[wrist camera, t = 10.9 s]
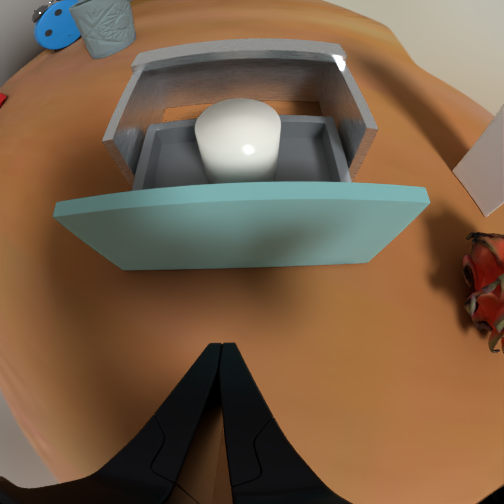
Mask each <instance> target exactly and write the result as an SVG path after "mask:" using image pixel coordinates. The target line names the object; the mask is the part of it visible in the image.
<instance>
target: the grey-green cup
mask: <svg viewBox="0 0 504 504" xmlns="http://www.w3.org/2000/svg"><path fill="white" fill-rule="evenodd" d="M69 11H70V13H71V15H72V18H73V20H74V21H75V23H76V26H77V28H78V29H79V32H80V34H81V35H82V38H83V40H84V41H85V43H86V47H87V49H88V51H89V53H90V55H91V57H92V58H93V59H100V58H104V57H107V56H110V55H112V54H115V53H117V52H119V51H121V50H123V49H124V48H126V47H128V46H129V45H130V44H132V43H133V42H134V41H135V39H136V33H135V28H134V23H133V16H132V9H131V5H130V0H81V1H79V2H77V3H76V4H74V5H73V6H71V7H70V8H69Z"/></svg>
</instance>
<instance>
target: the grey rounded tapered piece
mask: <svg viewBox="0 0 504 504" xmlns="http://www.w3.org/2000/svg"><path fill="white" fill-rule="evenodd" d="M280 131H281V121H280V118H279V115H278V114H277V112H276V111H275V110H274V109H273V108H271V107H270V106H269V105H267V104H265V103H263V102H260V101H257V100H253V99H247V98H235V99H228V100H224V101H221V102H218V103H216V104H213V105H212V106H210V107H208V108H207V109H206V110H204V111H203V112H202V113H201V115H200V116H199V117H198V119H197V121H196V124H195V134H196V138H197V142H198V146H199V150H200V154H201V158H202V162H203V165H204V169H205V173H206V177H207V180H208V181H209V183H210V184H222V183H245V182H272V181H273V180H274V178H275V175H276V171H277V162H278V152H279V141H280Z"/></svg>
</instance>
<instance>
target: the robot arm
mask: <svg viewBox="0 0 504 504" xmlns="http://www.w3.org/2000/svg"><path fill="white" fill-rule="evenodd" d="M222 427H224V436H225V445H226V453H227V461H228V469H229V477H230V484H231V487H232V488H231V491H232V499H233V504H352V503H351V502H349V501H347V500H345V499H344V498H342V497H340V496H339V495H337V494H336V493H334V492H333V491H332V490H331V489H330V488H329V487H327V486H326V485H325V484H324V483H323V482H322V481H321V480H320V478H319V477H318V476H317V475H316V474H315V473H314V472H313V471H312V469H311V468H310V467H309V466H308V465H307V464H306V462H305V461H304V460H303V459H302V458H301V457H300V455H299V454H298V453H297V452H296V450H295V449H294V448H293V446H292V445H291V444H290V442H289V441H288V440H287V438H286V437H285V435H284V433H283V432H282V430H281V429H280V427H279V425H278V423H277V422H276V420H275V418H273V415H272V413H271V411H270V409H269V407H268V405H267V404H266V402H265V400H264V398H263V396H262V394H261V392H260V390H259V389H258V387H257V385H256V383H255V381H254V379H253V377H252V375H251V373H250V371H249V369H248V367H247V365H246V363H245V361H244V359H243V357H242V355H241V353H240V351H239V349H238V347H237V345H236V344H235V343H223V344H221V343H210V344H208V346H207V347H206V348H205V350H204V351H203V352H202V353H201V355H200V356H199V357H198V359H197V360H196V361H195V363H194V364H193V365H192V366H191V368H190V369H189V370H188V372H187V373H186V374H185V375H184V377H183V378H182V379H181V381H180V382H179V383H178V384H177V386H176V387H175V388H174V389H173V391H172V392H171V393H170V395H169V396H168V397H167V398H166V400H165V401H164V402H163V403H162V405H161V406H160V407H159V408H158V410H157V411H156V412H155V414H154V415H153V416H152V417H151V418H150V420H149V421H148V422H147V423H146V424H145V426H144V427H143V428H142V429H141V430H140V431H139V433H138V434H137V435H136V436H135V437H134V438H133V439H132V440H131V441H130V442H129V443H128V444H127V445H126V446H125V447H124V448H123V449H121V450H120V451H119V452H118V453H117V454H116V455H115V456H114V457H113V458H112V459H111V460H109V461H108V462H107V463H106V464H105V465H104V466H103V467H102V468H100V469H99V470H98V471H96V472H95V473H93V474H91V475H90V476H87V477H85V478H82V479H78V480H74V481H70V482H65V483H61V484H56V485H50V486H45V487H39V488H29V489H28V488H21V487H18V486H16V485H15V484H13V483H12V482H10V481H9V480H7V479H6V478H4V477H2V476H0V504H212V503H213V495H214V487H215V480H216V472H217V465H218V457H219V450H220V442H221V435H222ZM476 504H504V484H503V485H502V486H500V487H499V488H498V489H496V490H495V491H493V492H492V493H490V494H489V495H487V496H486V497H485V498H483V499H482V500H480V501H479V502H478V503H476Z"/></svg>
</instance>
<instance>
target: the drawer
mask: <svg viewBox="0 0 504 504" xmlns="http://www.w3.org/2000/svg"><path fill="white" fill-rule="evenodd" d="M279 118H280V121H281V131H280V141H279V152H278V162H277V171H276V175H275V178H274V180H273V181H272V182H245V183H222V184H210V183H209V181H208V180H207V177H206V173H205V169H204V165H203V162H202V158H201V154H200V150H199V146H198V142H197V138H196V134H195V124H196V121H197V119H190V120H181V121H173V122H166V123H159V124H152V125H149V126H148V129H147V133H146V136H145V140H144V143H143V147H142V150H141V154H140V158H139V162H138V166H137V170H136V174H135V178H134V183H133V187H132V191H128V192H120V193H112V194H105V195H98V196H91V197H84V198H78V199H72V200H66V201H60V202H57V203H56V206H55V210H54V213H53V218H54V219H55V220H57V221H58V222H59V223H60V224H61V225H63V226H64V227H65V228H66V229H68V230H69V231H70V232H72V233H73V234H74V235H75V236H77V237H78V238H79V239H81V240H82V241H83V242H85V243H86V244H87V245H89V246H90V247H91V248H93V249H94V250H95V251H97V252H98V253H99V254H101V255H102V256H104V257H105V258H106V259H108V260H109V261H111V262H112V263H113V264H115V265H116V266H118V267H119V268H120V269H122V270H175V269H218V268H252V267H282V266H308V265H332V264H354V263H368V262H369V261H370V260H371V259H372V258H373V257H374V256H375V255H377V254H378V253H379V252H380V251H381V250H382V249H383V248H384V247H385V246H386V245H388V244H389V243H390V242H391V241H392V240H393V239H394V238H395V237H396V236H397V235H398V234H399V233H400V232H401V231H403V230H404V229H405V228H406V227H407V226H408V225H409V224H410V223H411V222H412V221H413V220H414V219H415V218H416V217H417V216H418V215H419V214H420V213H421V212H422V211H423V210H424V209H425V208H426V207H427V206H428V205H429V204H430V200H429V197H428V194H427V191H426V188H425V187H414V186H402V185H388V184H372V183H352V180H351V176H350V173H349V169H348V165H347V161H346V158H345V154H344V151H343V148H342V144H341V141H340V138H339V134H338V131H337V128H336V125H335V122H334V119H333V117H323V116H303V115H279Z"/></svg>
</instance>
